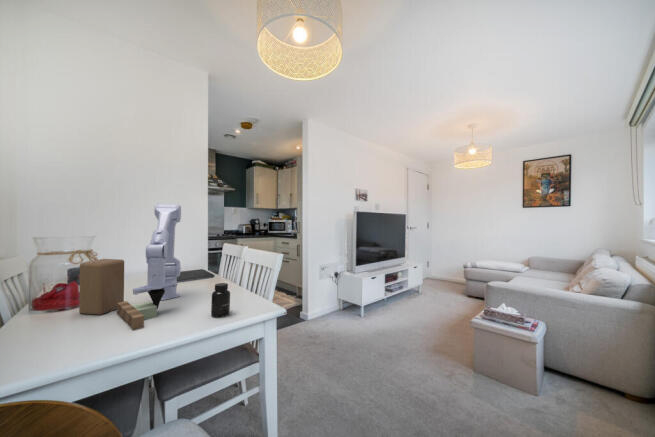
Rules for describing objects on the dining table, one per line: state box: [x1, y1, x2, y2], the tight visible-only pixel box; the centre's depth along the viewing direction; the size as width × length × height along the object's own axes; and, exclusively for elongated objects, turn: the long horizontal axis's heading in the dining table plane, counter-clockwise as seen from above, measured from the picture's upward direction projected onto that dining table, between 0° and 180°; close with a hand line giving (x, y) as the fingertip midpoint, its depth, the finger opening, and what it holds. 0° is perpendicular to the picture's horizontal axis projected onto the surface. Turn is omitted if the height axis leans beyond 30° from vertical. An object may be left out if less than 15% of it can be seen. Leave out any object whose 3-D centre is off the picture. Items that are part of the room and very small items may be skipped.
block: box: [78, 258, 125, 316], centre depth 100 cm, size 10×10×20 cm
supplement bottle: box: [210, 282, 231, 318], centre depth 98 cm, size 7×7×12 cm
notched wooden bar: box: [116, 300, 145, 331], centre depth 92 cm, size 22×3×4 cm, turn 51°
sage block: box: [131, 301, 158, 321], centre depth 95 cm, size 8×6×4 cm
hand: (155, 308), depth 98 cm, fingers closed
